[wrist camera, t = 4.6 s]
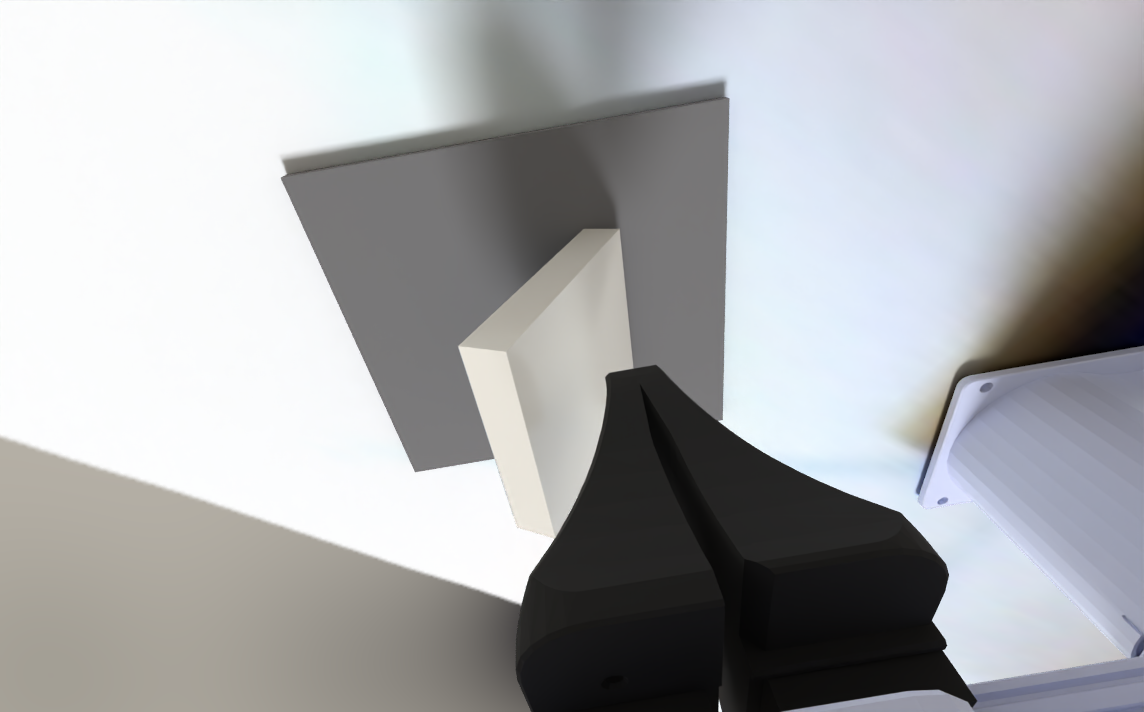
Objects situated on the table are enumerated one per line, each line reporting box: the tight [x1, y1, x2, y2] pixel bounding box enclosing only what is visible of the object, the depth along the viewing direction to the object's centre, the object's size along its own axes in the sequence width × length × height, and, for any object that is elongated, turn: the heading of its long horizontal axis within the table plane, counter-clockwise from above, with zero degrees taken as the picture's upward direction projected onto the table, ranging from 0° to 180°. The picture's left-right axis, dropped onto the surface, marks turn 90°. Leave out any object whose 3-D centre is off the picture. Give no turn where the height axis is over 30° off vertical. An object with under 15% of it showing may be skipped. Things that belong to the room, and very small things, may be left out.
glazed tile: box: [458, 229, 633, 538], centre depth 14 cm, size 1×6×7 cm, turn 8°
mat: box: [281, 97, 729, 472], centre depth 17 cm, size 13×12×1 cm
